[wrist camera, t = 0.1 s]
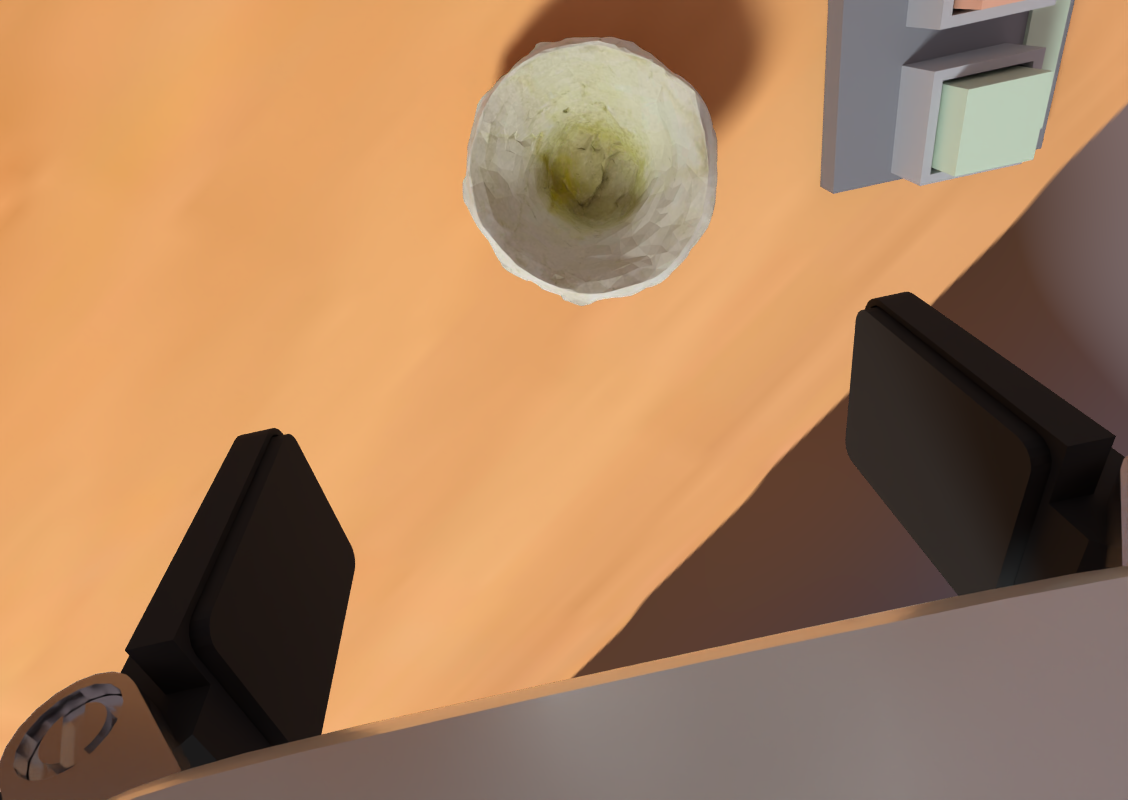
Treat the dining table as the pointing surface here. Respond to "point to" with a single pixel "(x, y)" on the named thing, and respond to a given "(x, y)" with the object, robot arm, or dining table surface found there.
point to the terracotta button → (980, 4)
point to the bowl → (591, 168)
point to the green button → (990, 119)
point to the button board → (918, 77)
